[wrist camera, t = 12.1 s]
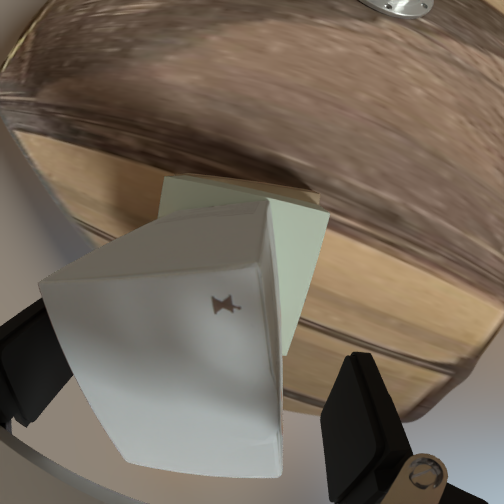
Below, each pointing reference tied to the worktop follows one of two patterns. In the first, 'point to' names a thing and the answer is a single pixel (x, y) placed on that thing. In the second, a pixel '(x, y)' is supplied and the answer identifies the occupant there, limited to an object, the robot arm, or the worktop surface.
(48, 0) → the worktop surface
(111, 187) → the worktop surface
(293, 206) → the tower top
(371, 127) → the worktop surface
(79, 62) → the worktop surface
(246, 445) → the small box
